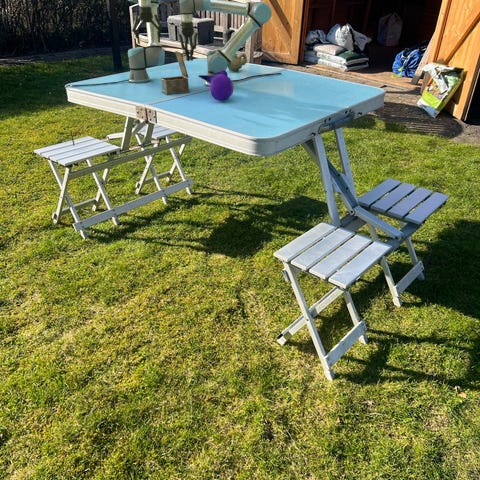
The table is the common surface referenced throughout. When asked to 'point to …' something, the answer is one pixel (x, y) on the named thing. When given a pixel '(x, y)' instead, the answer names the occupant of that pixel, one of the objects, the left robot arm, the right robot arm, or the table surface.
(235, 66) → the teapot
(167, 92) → the chest
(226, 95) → the toy
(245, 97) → the table surface
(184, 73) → the lid
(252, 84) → the table surface
